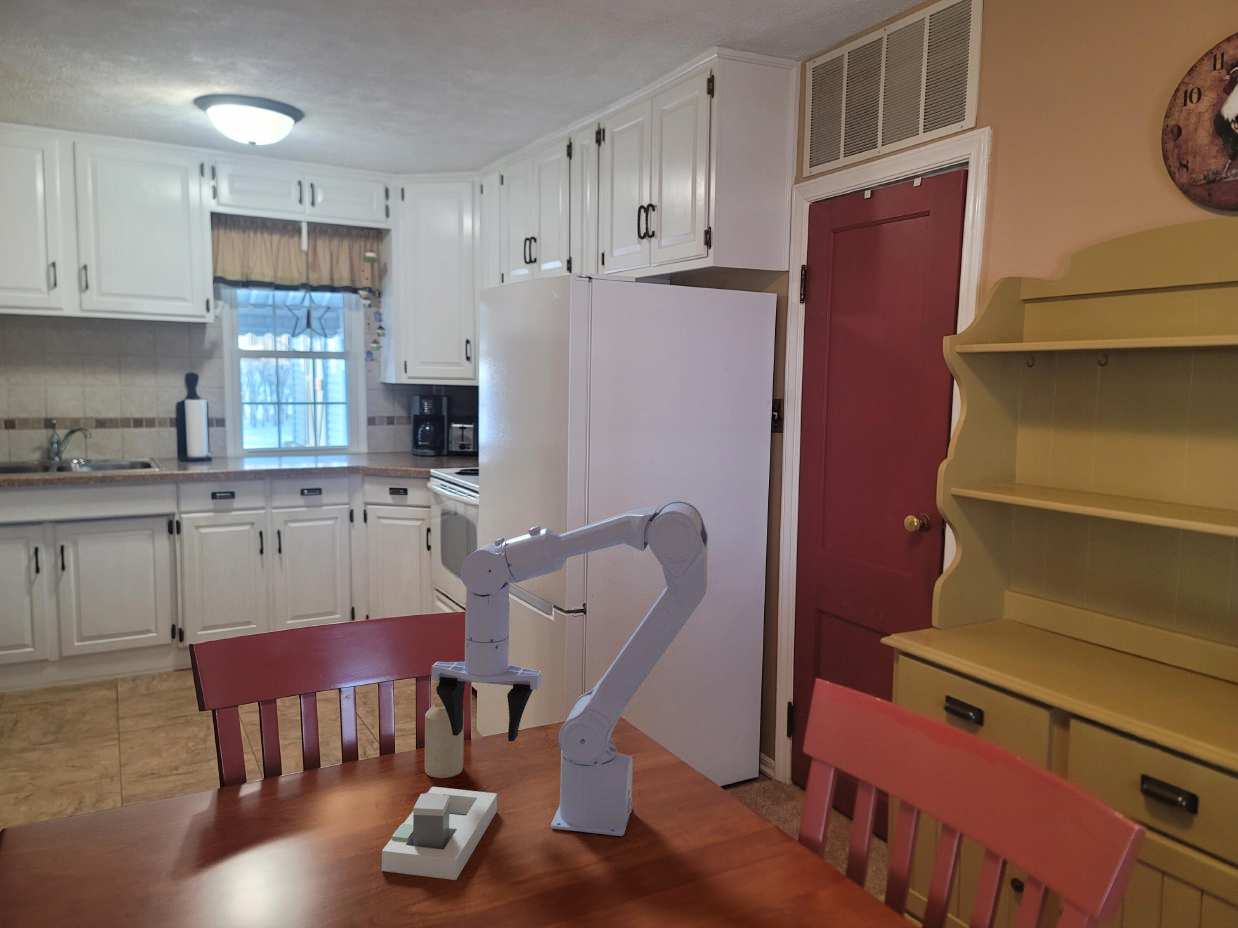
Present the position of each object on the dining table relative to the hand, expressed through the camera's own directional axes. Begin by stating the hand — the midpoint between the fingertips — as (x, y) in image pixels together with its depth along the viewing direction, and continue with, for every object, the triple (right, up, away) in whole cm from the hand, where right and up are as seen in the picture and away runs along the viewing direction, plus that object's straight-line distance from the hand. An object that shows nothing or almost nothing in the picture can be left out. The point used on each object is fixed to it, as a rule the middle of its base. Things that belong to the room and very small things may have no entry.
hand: (485, 735), depth 116 cm
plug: (-5, -11, -11) cm, 17 cm away
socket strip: (-4, -11, -7) cm, 14 cm away
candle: (-8, -9, +11) cm, 16 cm away
